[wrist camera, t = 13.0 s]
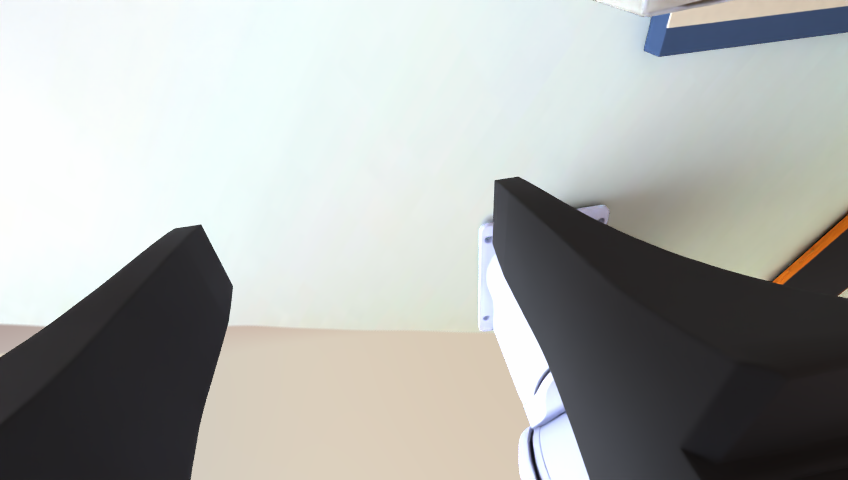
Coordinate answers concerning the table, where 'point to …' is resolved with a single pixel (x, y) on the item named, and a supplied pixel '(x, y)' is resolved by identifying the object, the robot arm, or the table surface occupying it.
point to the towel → (744, 24)
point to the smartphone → (822, 264)
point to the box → (658, 5)
